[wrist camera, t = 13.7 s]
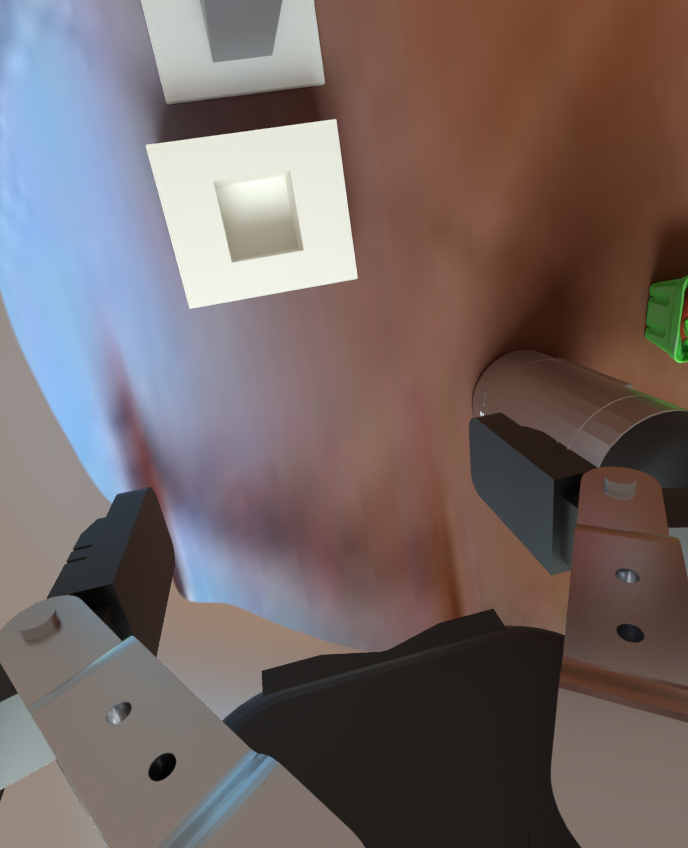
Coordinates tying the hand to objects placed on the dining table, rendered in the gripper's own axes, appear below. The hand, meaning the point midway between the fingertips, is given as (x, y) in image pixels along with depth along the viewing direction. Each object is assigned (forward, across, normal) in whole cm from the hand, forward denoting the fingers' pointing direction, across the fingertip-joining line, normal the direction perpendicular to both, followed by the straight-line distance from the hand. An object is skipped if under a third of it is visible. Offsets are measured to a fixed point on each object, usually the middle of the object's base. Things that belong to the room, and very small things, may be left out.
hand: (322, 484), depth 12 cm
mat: (+30, -2, -19) cm, 35 cm away
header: (+30, -1, -7) cm, 31 cm away
